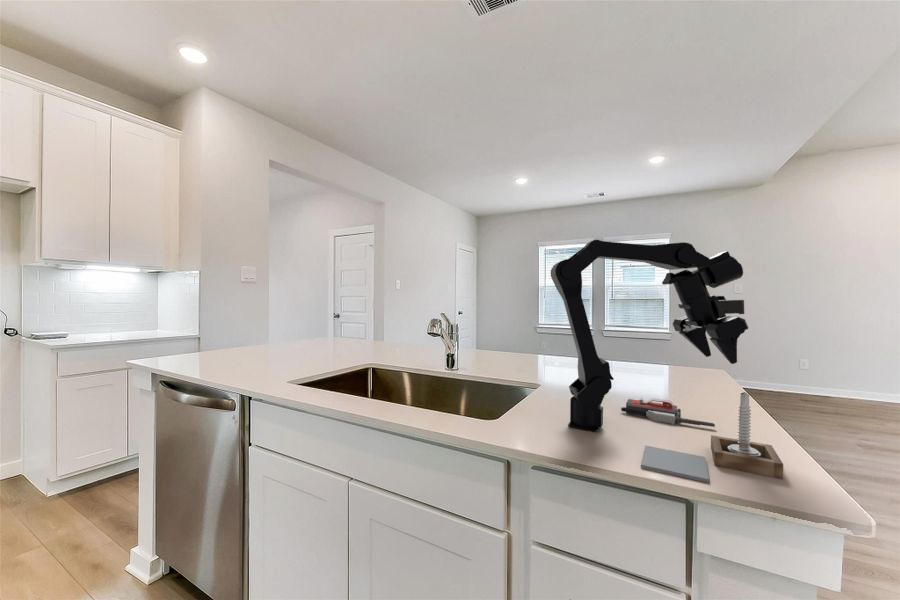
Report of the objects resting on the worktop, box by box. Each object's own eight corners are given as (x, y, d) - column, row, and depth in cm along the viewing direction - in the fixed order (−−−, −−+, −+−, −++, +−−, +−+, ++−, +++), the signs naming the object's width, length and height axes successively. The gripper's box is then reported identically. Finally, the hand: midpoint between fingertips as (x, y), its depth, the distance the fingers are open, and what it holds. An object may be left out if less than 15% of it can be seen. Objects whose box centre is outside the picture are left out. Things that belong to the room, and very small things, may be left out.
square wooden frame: (714, 465, 68) (714, 451, 67) (710, 447, 76) (711, 435, 76) (783, 479, 63) (783, 464, 63) (771, 458, 71) (771, 445, 71)
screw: (766, 464, 68) (750, 469, 66) (737, 454, 72) (721, 458, 70) (767, 393, 68) (751, 396, 66) (738, 387, 72) (722, 390, 70)
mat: (640, 467, 66) (640, 464, 66) (645, 448, 75) (645, 445, 75) (709, 482, 61) (709, 479, 61) (705, 460, 70) (705, 456, 70)
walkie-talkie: (619, 416, 95) (715, 432, 85) (619, 399, 95) (715, 413, 85) (624, 408, 103) (713, 421, 92) (624, 392, 103) (713, 404, 92)
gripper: (759, 280, 75) (790, 353, 74) (704, 283, 93) (729, 341, 93) (704, 301, 76) (734, 373, 76) (661, 300, 94) (685, 357, 94)
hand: (720, 359), depth 85 cm, fingers open, 9 cm apart
